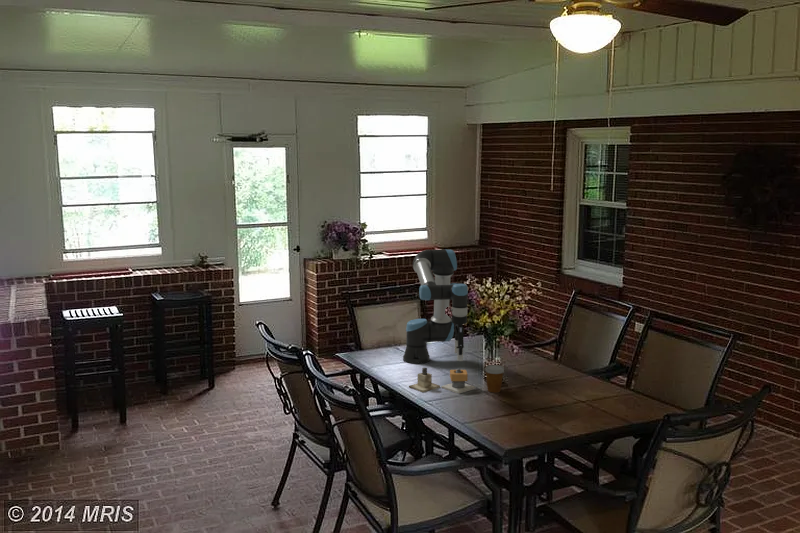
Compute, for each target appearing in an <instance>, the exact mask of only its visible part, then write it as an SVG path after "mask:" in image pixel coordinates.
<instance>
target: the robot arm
mask: <svg viewBox="0 0 800 533" xmlns="http://www.w3.org/2000/svg"><path fill="white" fill-rule="evenodd" d="M412 260H413V261H412V268H413V270H414V272H415V273H416V274H417V277H418V280H419V283H420V286H419V288H418V290H419V291H418V292H419V294H418V295H419V299H420V300H421V301H433V315H432V316H431V317H430V321H428V320H427V319H426V318H415V319H411V320H408V321H407V323H406V328H405V331H406V333H405V334H406V338H405V339H406V340H405V341H406V342H405V343H406V345H405V350H404V354H403V356H402V360H403V362H404V363H409V364H426V363H428V362H430V360H431V359H430V357H431V356H430V354H429V350H428V347H427V346H428V345H427V344H428V343H447V342H450V341H451V340H453V337H454V354H456V355H457V356H456V357H457V359H456V360H457V362H464V348H465V346H464V330H465V328H464V325H466V324H467V323H468V301H469V300H468V297H469V290H468V285H467V284H466V283H454V282H453V283H451V277H452V276H453V275H454V271H457V268H458V262H457V257H456V253H455V251H454V250H453V249H446V248H445V249H442V248H441V249H438V248H437V249H425V250H421V251H419V252H418V253H417V254H416V255H415V257H414V258H413V259H412ZM450 301H451V302H452V303H451V304H452V305H451V307H452V308H450ZM447 307H449V308H450V311H451V314H452V315H451V317H450V316H448V315H446V314H445V309H446V308H447Z"/></svg>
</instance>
